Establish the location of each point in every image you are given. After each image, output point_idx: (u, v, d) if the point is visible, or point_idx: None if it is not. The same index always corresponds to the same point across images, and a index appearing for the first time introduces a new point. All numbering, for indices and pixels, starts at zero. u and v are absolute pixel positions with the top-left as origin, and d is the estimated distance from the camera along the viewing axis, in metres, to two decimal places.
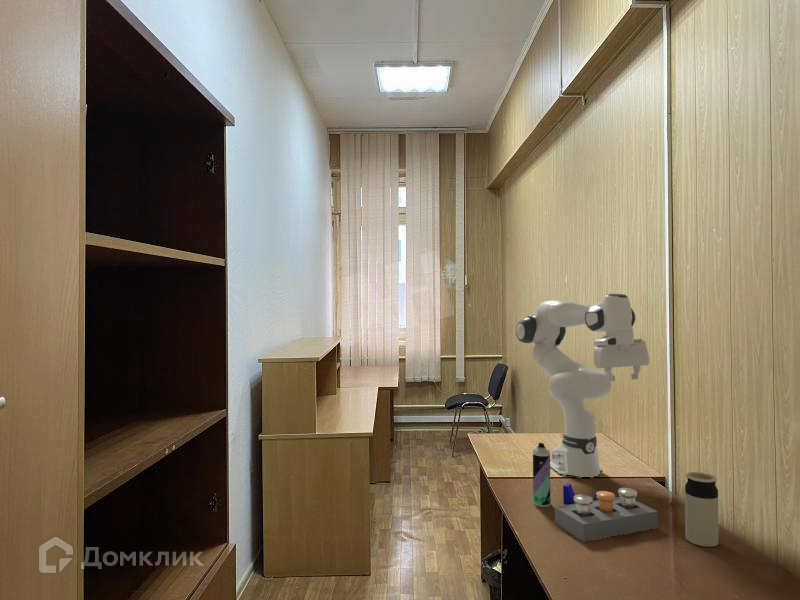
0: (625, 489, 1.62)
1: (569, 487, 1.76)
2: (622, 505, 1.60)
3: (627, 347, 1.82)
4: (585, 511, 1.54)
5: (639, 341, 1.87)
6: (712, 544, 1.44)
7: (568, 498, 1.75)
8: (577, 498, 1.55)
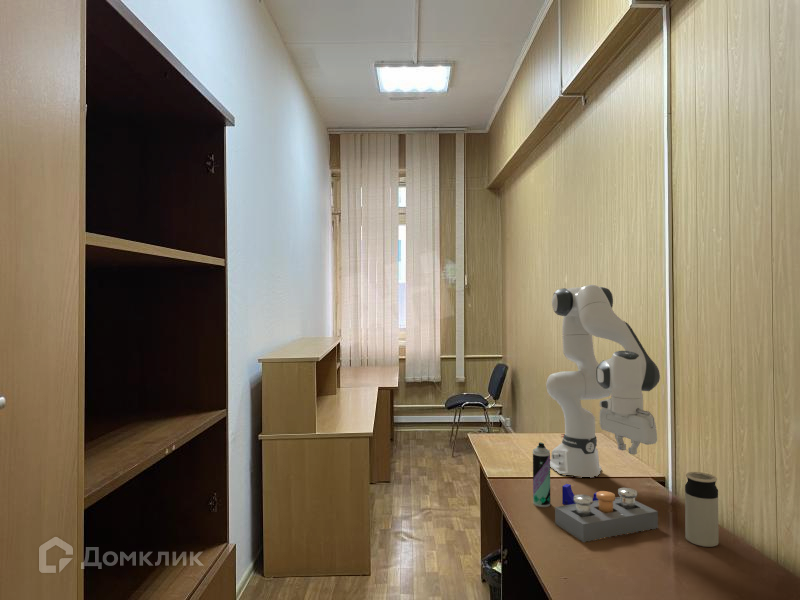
0: (625, 489, 1.62)
1: (568, 488, 1.76)
2: (622, 505, 1.60)
3: (619, 415, 1.60)
4: (585, 511, 1.54)
5: (644, 413, 1.54)
6: (712, 544, 1.44)
7: (567, 499, 1.74)
8: (577, 498, 1.55)
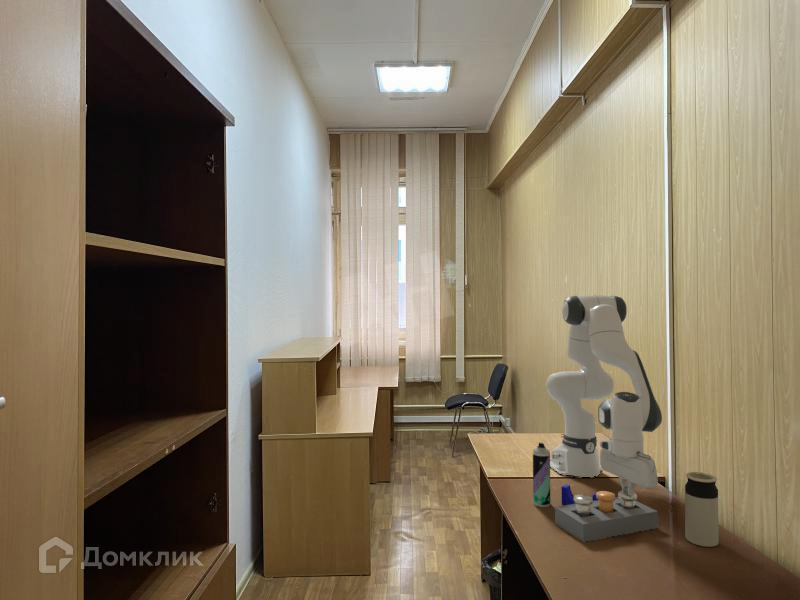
0: None
1: (567, 488, 1.75)
2: None
3: (619, 457, 1.60)
4: (585, 511, 1.54)
5: (645, 457, 1.54)
6: (712, 544, 1.44)
7: (566, 499, 1.74)
8: (577, 498, 1.55)
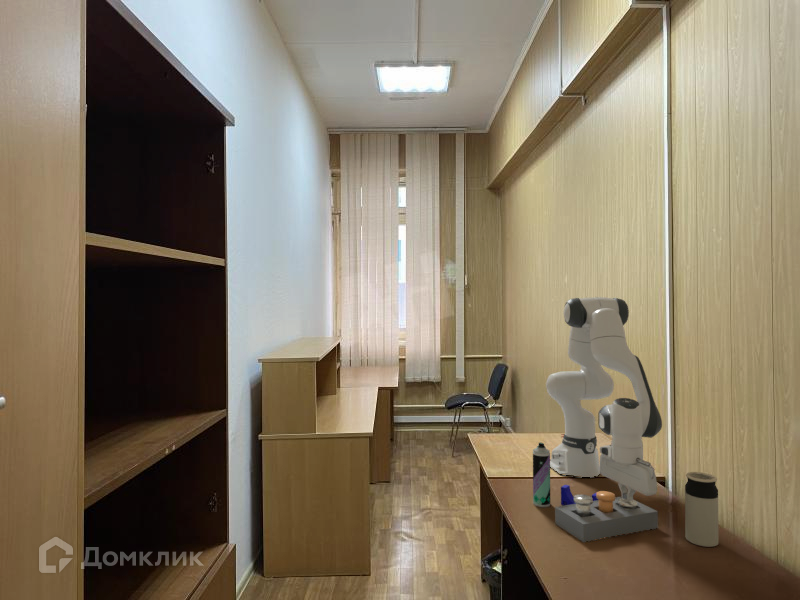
0: None
1: (567, 488, 1.75)
2: None
3: (619, 464, 1.60)
4: (585, 511, 1.54)
5: (644, 464, 1.54)
6: (712, 544, 1.44)
7: (566, 499, 1.74)
8: (577, 498, 1.55)
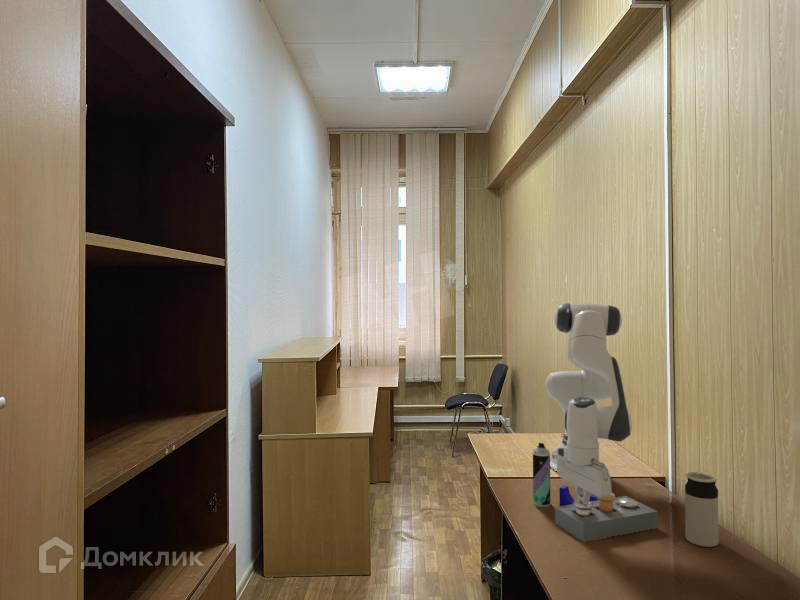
0: (625, 499, 1.62)
1: (565, 489, 1.74)
2: None
3: (574, 465, 1.54)
4: (585, 515, 1.54)
5: (599, 465, 1.48)
6: (712, 544, 1.44)
7: (564, 500, 1.73)
8: (577, 503, 1.55)
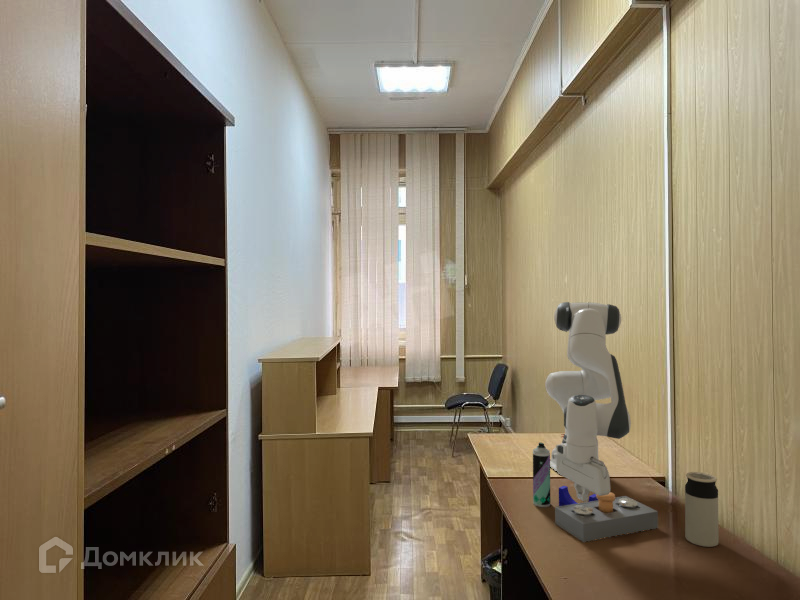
0: (625, 499, 1.62)
1: (565, 489, 1.74)
2: None
3: (573, 463, 1.55)
4: None
5: (598, 463, 1.49)
6: (712, 544, 1.44)
7: (563, 500, 1.73)
8: (577, 509, 1.55)
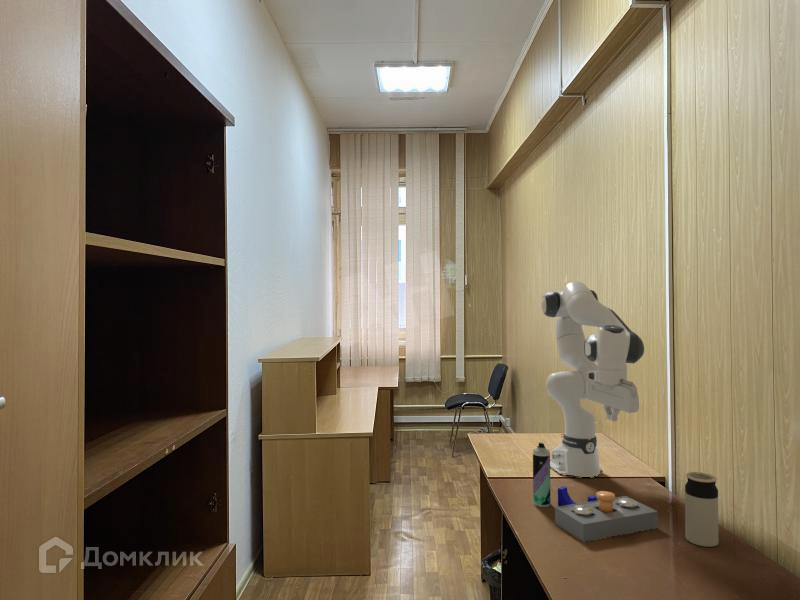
0: (625, 499, 1.62)
1: (564, 490, 1.73)
2: None
3: (604, 386, 1.69)
4: None
5: (628, 384, 1.63)
6: (712, 544, 1.44)
7: (562, 501, 1.72)
8: (577, 509, 1.55)
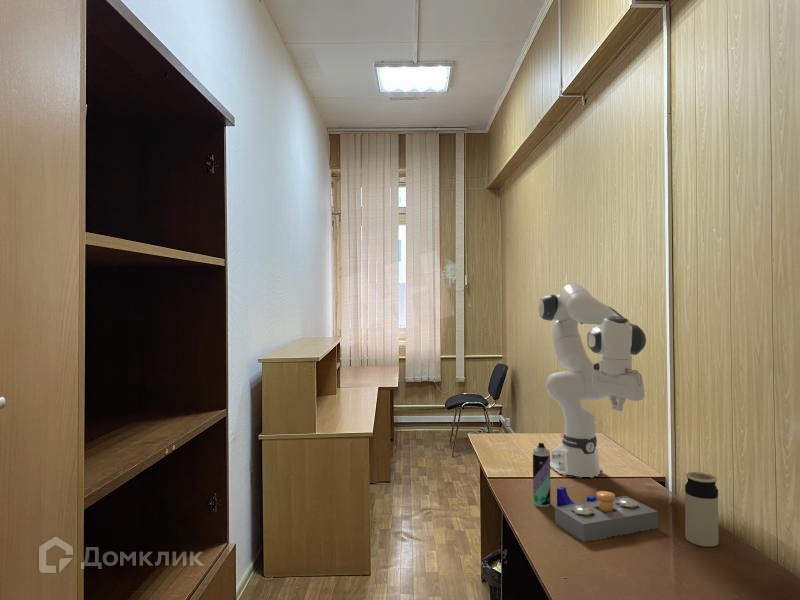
0: (625, 499, 1.62)
1: (563, 490, 1.73)
2: None
3: (609, 376, 1.72)
4: None
5: (633, 372, 1.66)
6: (712, 544, 1.44)
7: (561, 501, 1.72)
8: (577, 509, 1.55)
